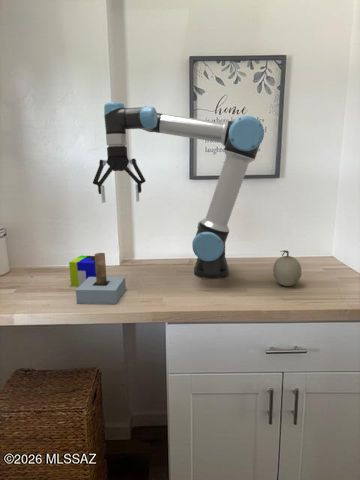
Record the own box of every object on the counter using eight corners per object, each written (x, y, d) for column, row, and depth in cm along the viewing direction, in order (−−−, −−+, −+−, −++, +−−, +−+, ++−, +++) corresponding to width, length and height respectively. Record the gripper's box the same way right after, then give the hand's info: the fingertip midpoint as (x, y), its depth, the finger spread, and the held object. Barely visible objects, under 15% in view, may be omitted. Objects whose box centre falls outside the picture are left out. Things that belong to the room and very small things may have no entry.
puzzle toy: (94, 287, 138) (92, 263, 135) (71, 286, 140) (69, 262, 137) (104, 279, 147) (103, 256, 145) (82, 278, 149) (81, 255, 147)
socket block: (125, 289, 135) (125, 277, 133) (116, 304, 121) (115, 290, 120) (90, 289, 136) (89, 276, 135) (76, 303, 122) (75, 289, 121)
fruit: (294, 279, 143) (296, 243, 140) (304, 289, 132) (307, 250, 128) (268, 280, 143) (270, 244, 139) (277, 290, 132) (278, 251, 128)
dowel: (108, 294, 130) (106, 252, 126) (106, 298, 126) (103, 255, 123) (99, 294, 130) (96, 252, 127) (96, 298, 127) (93, 255, 123)
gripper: (150, 145, 137) (153, 199, 141) (87, 147, 138) (92, 201, 142) (148, 144, 129) (151, 201, 134) (81, 146, 130) (86, 203, 135)
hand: (120, 201), depth 138 cm, fingers open, 13 cm apart
